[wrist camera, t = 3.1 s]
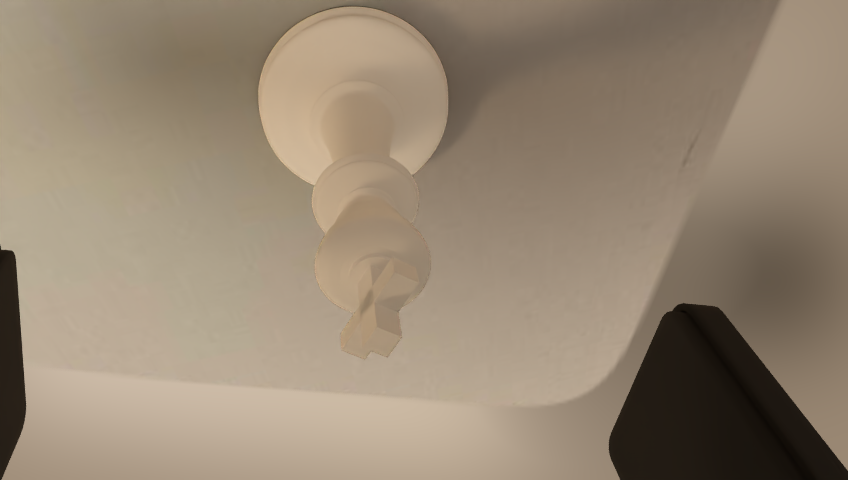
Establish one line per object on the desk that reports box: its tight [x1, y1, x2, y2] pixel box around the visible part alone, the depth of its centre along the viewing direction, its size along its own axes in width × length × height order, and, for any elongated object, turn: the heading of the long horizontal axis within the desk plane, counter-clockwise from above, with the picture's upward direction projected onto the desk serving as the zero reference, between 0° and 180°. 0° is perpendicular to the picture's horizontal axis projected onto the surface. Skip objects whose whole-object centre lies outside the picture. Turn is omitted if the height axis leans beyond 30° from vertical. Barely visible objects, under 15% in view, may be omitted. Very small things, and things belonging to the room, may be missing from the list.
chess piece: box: [258, 7, 448, 359], centre depth 16 cm, size 5×5×10 cm
